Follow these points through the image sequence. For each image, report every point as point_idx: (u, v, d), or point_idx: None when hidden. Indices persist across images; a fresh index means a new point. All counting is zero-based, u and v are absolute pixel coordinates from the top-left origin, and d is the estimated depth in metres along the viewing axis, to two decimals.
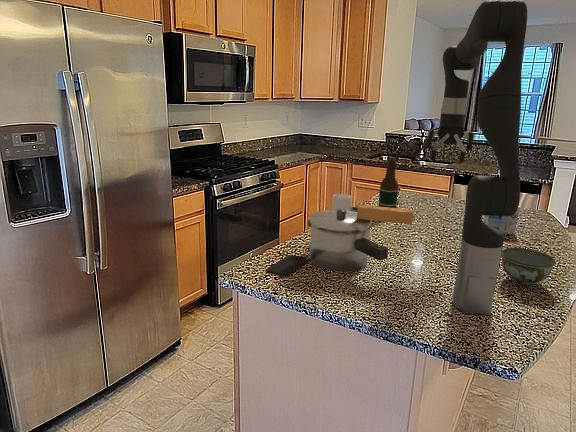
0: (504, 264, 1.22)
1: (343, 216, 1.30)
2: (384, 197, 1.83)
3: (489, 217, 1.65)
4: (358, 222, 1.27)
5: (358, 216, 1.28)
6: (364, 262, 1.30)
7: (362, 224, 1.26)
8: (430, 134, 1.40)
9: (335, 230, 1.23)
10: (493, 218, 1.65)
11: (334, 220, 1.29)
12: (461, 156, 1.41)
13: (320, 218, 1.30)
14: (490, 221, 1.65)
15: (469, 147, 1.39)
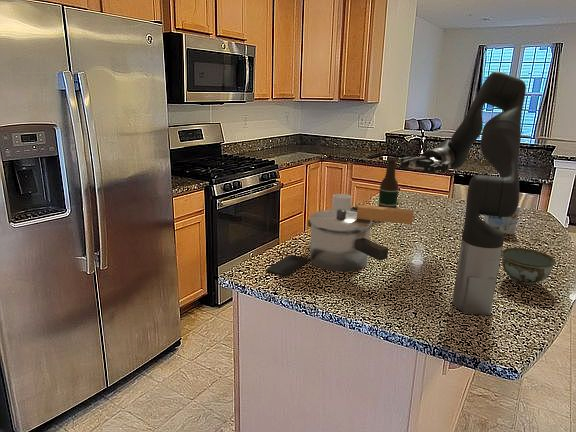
0: (504, 264, 1.22)
1: (343, 216, 1.30)
2: (384, 197, 1.83)
3: (489, 217, 1.65)
4: (358, 222, 1.27)
5: (358, 216, 1.28)
6: (364, 262, 1.30)
7: (362, 224, 1.26)
8: None
9: (335, 230, 1.23)
10: (493, 218, 1.65)
11: (334, 220, 1.29)
12: (433, 164, 1.26)
13: (320, 218, 1.30)
14: (490, 221, 1.65)
15: (443, 163, 1.27)
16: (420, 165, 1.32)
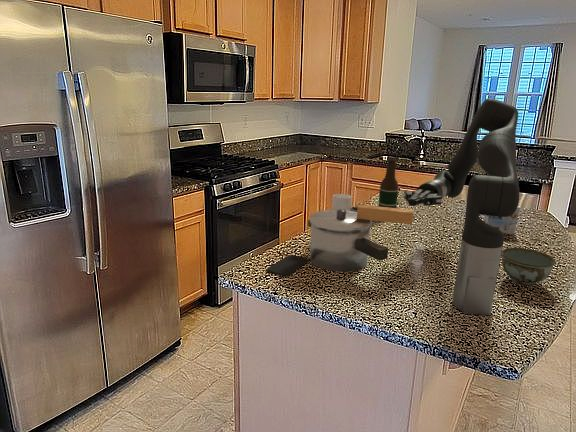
0: (504, 264, 1.22)
1: (343, 216, 1.30)
2: (384, 197, 1.83)
3: (489, 217, 1.65)
4: (358, 222, 1.27)
5: (358, 216, 1.28)
6: (364, 262, 1.30)
7: (362, 224, 1.26)
8: (406, 191, 1.38)
9: (335, 230, 1.23)
10: (493, 218, 1.65)
11: (334, 220, 1.29)
12: (415, 197, 1.30)
13: (320, 218, 1.30)
14: (490, 221, 1.65)
15: (427, 196, 1.31)
16: None
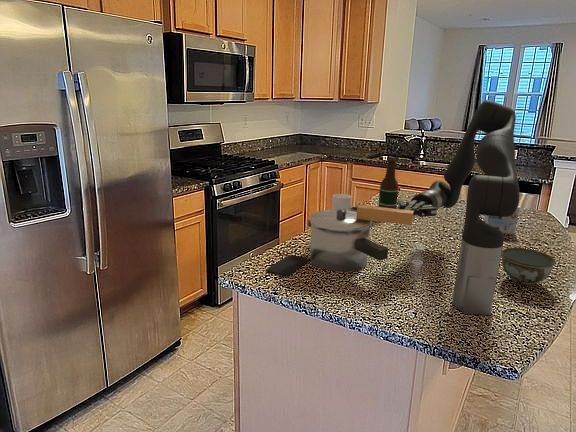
0: (504, 264, 1.22)
1: (343, 216, 1.30)
2: (384, 197, 1.83)
3: (489, 217, 1.65)
4: (358, 222, 1.27)
5: (358, 216, 1.28)
6: (364, 262, 1.30)
7: (361, 224, 1.25)
8: (400, 201, 1.35)
9: (334, 230, 1.23)
10: (493, 218, 1.65)
11: (334, 220, 1.29)
12: (410, 209, 1.27)
13: (320, 218, 1.31)
14: (490, 221, 1.65)
15: (421, 208, 1.28)
16: None
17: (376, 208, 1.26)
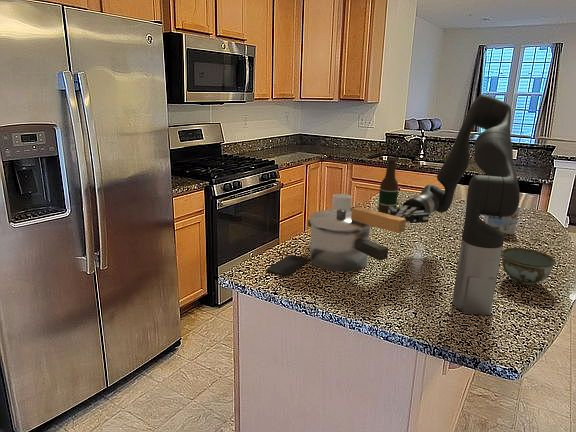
0: (504, 264, 1.22)
1: (341, 216, 1.30)
2: (384, 197, 1.83)
3: (489, 217, 1.65)
4: (350, 224, 1.26)
5: (352, 218, 1.26)
6: (364, 262, 1.30)
7: (351, 226, 1.24)
8: (390, 207, 1.28)
9: (321, 227, 1.25)
10: (493, 218, 1.65)
11: (330, 219, 1.30)
12: (400, 215, 1.21)
13: (320, 215, 1.33)
14: (490, 221, 1.65)
15: (413, 214, 1.22)
16: None
17: (369, 211, 1.23)
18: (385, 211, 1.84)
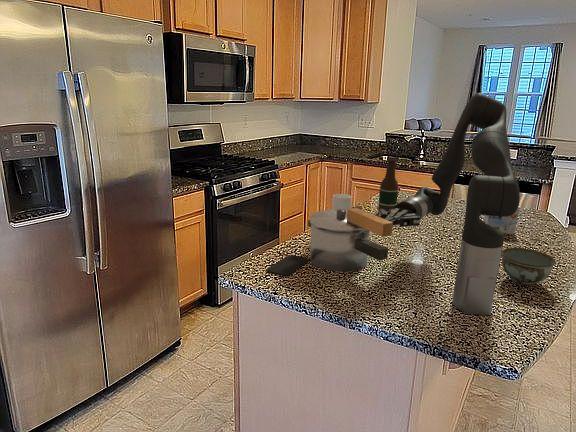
0: (504, 264, 1.22)
1: (340, 216, 1.30)
2: (384, 197, 1.83)
3: (489, 217, 1.65)
4: (345, 224, 1.25)
5: (347, 218, 1.26)
6: (364, 262, 1.30)
7: (344, 226, 1.24)
8: (381, 210, 1.25)
9: (315, 225, 1.27)
10: (493, 218, 1.65)
11: (329, 218, 1.31)
12: (390, 218, 1.17)
13: (323, 214, 1.35)
14: (490, 221, 1.65)
15: (403, 217, 1.18)
16: None
17: (362, 213, 1.21)
18: None
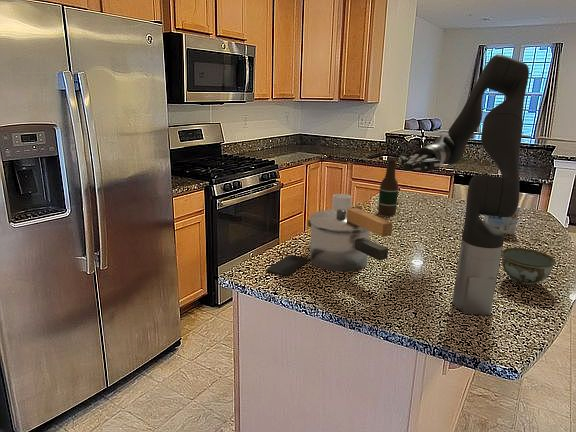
0: (504, 264, 1.22)
1: (340, 216, 1.30)
2: (384, 197, 1.83)
3: (489, 217, 1.65)
4: (345, 224, 1.25)
5: (347, 218, 1.26)
6: (364, 262, 1.30)
7: (344, 226, 1.24)
8: (401, 156, 1.29)
9: (315, 225, 1.27)
10: (493, 218, 1.65)
11: (329, 218, 1.31)
12: (411, 162, 1.22)
13: (323, 214, 1.35)
14: (490, 221, 1.65)
15: (424, 160, 1.23)
16: None
17: (362, 213, 1.21)
18: (385, 211, 1.84)
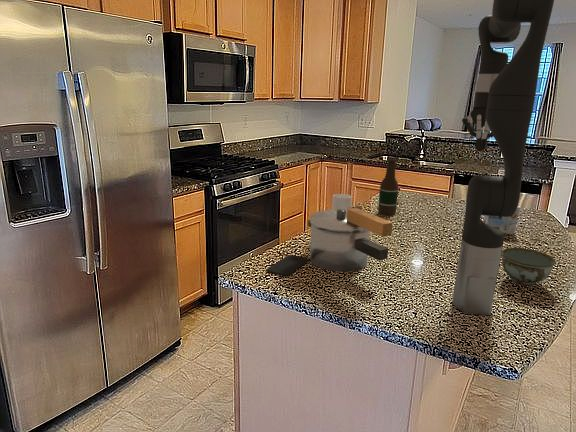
0: (504, 264, 1.22)
1: (340, 216, 1.30)
2: (384, 197, 1.83)
3: (489, 217, 1.65)
4: (345, 224, 1.25)
5: (347, 218, 1.26)
6: (364, 262, 1.30)
7: (344, 226, 1.24)
8: (464, 122, 1.28)
9: (315, 225, 1.27)
10: (493, 218, 1.65)
11: (329, 218, 1.31)
12: (481, 143, 1.26)
13: (323, 214, 1.35)
14: (490, 221, 1.65)
15: (491, 133, 1.24)
16: None
17: (362, 213, 1.21)
18: (385, 211, 1.84)
